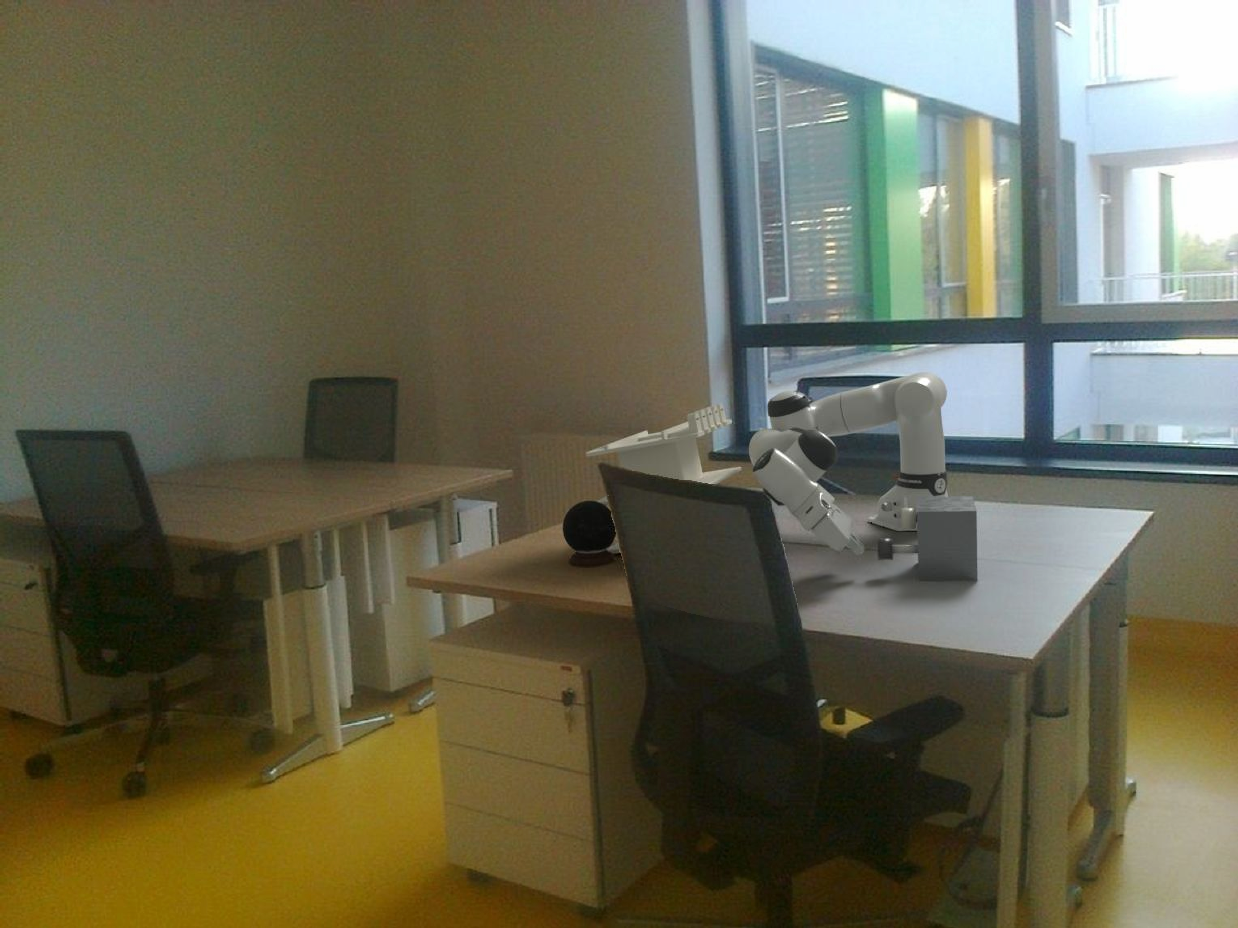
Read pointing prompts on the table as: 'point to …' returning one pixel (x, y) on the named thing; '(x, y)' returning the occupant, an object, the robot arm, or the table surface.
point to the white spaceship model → (670, 451)
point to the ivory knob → (909, 518)
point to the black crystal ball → (589, 534)
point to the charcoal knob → (893, 549)
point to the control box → (947, 539)
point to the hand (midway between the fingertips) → (862, 551)
